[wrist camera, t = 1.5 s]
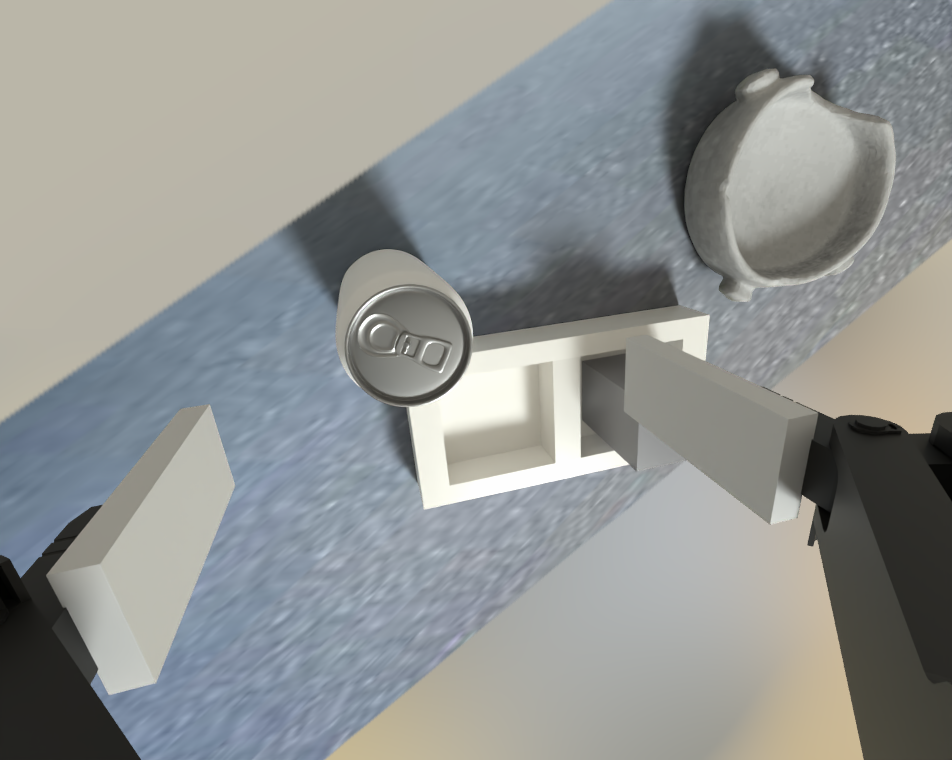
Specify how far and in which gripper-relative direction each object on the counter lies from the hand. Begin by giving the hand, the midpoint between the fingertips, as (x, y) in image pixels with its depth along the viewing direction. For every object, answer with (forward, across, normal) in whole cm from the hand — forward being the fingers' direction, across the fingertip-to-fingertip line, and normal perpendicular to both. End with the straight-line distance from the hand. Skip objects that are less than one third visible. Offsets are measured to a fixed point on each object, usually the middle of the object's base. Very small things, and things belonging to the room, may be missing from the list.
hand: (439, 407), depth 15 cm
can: (+19, 0, 0) cm, 19 cm away
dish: (+19, +28, +4) cm, 34 cm away
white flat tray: (+18, +11, -9) cm, 23 cm away
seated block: (+18, +16, -9) cm, 25 cm away
